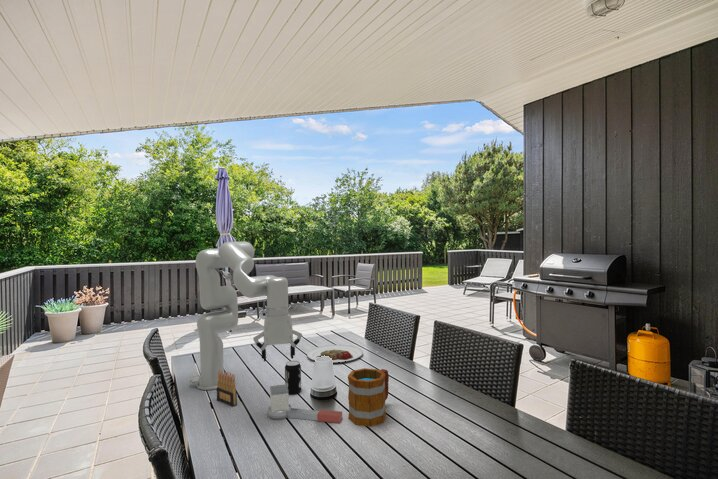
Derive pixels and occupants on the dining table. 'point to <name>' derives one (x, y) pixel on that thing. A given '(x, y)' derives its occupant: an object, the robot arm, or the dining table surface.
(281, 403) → the brushed metal block
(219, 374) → the ammunition clip
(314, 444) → the dining table surface
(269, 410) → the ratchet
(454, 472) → the dining table surface
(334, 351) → the plated food
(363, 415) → the mug
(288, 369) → the beverage can
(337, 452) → the dining table surface
